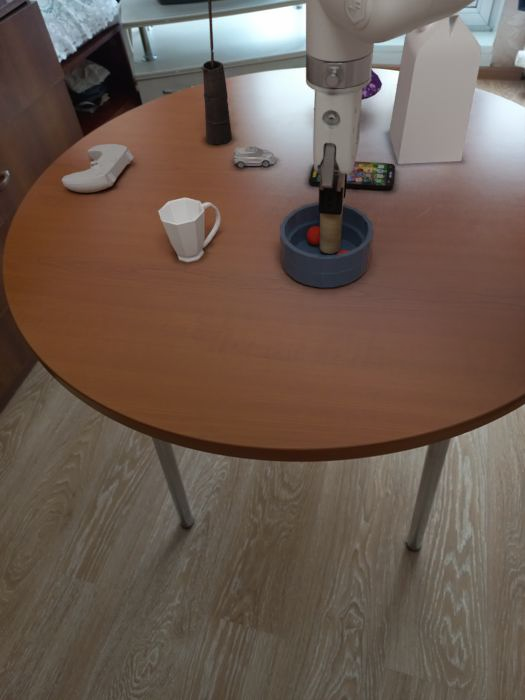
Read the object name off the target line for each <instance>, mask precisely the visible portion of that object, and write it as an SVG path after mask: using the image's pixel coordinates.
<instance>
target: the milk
mask: <svg viewBox="0 0 525 700" xmlns="http://www.w3.org/2000/svg"><path fill="white" fill-rule="evenodd" d="M481 59H482V48H481V44H480V43H479V41H478V40H477V38H476V37H475V35H474V34H473V33H472V31H471V30H470V28H469V27H468V25H467V24H466V22H465V21H464V20H463V18H462V17H461V16H460V11H459V12H457V13H455V14H454V15H452V16H450V17H447V18H445V19H442V20H439V21H436V22H434V23H431V24H429V25H426V26H424V27H421V28H419V29H416V30H413V31H412V32H410V33H407V34H405V36H404V40H403V45H402V53H401V59H400V65H399V70H398V75H397V82H396V88H395V95H394V101H393V106H392V113H391V119H390V125H389V131H388V134H389V137H390V142H391V144H392V148H393V151H394V156H395V159H396V162H397V165H408V164H409V165H410V164H429V163H431V164H432V163H451V162H453V163H454V162H462V160H463V153H464V148H465V144H466V138H467V133H468V127H469V122H470V118H471V111H472V106H473V101H474V96H475V91H476V86H477V80H478V76H479V72H480V71H479V70H480V66H481Z"/></svg>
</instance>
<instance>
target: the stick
mask: <svg viewBox="0 0 525 700" xmlns="http://www.w3.org/2000/svg"><path fill="white" fill-rule="evenodd" d="M335 166H338V164H335ZM334 178H336V179H337V174H334ZM344 185H345V174H342V185H341V187H343V201H344V199H345V198H344ZM343 204H344V202H343V203H342V213H341V214H340V215H333V214H321V213H320V242H319V248H320V250H321V251H322V252H324V253H329V254H331V253H336V252H338V251H339V250H340V247H341V231H342V216H343Z"/></svg>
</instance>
